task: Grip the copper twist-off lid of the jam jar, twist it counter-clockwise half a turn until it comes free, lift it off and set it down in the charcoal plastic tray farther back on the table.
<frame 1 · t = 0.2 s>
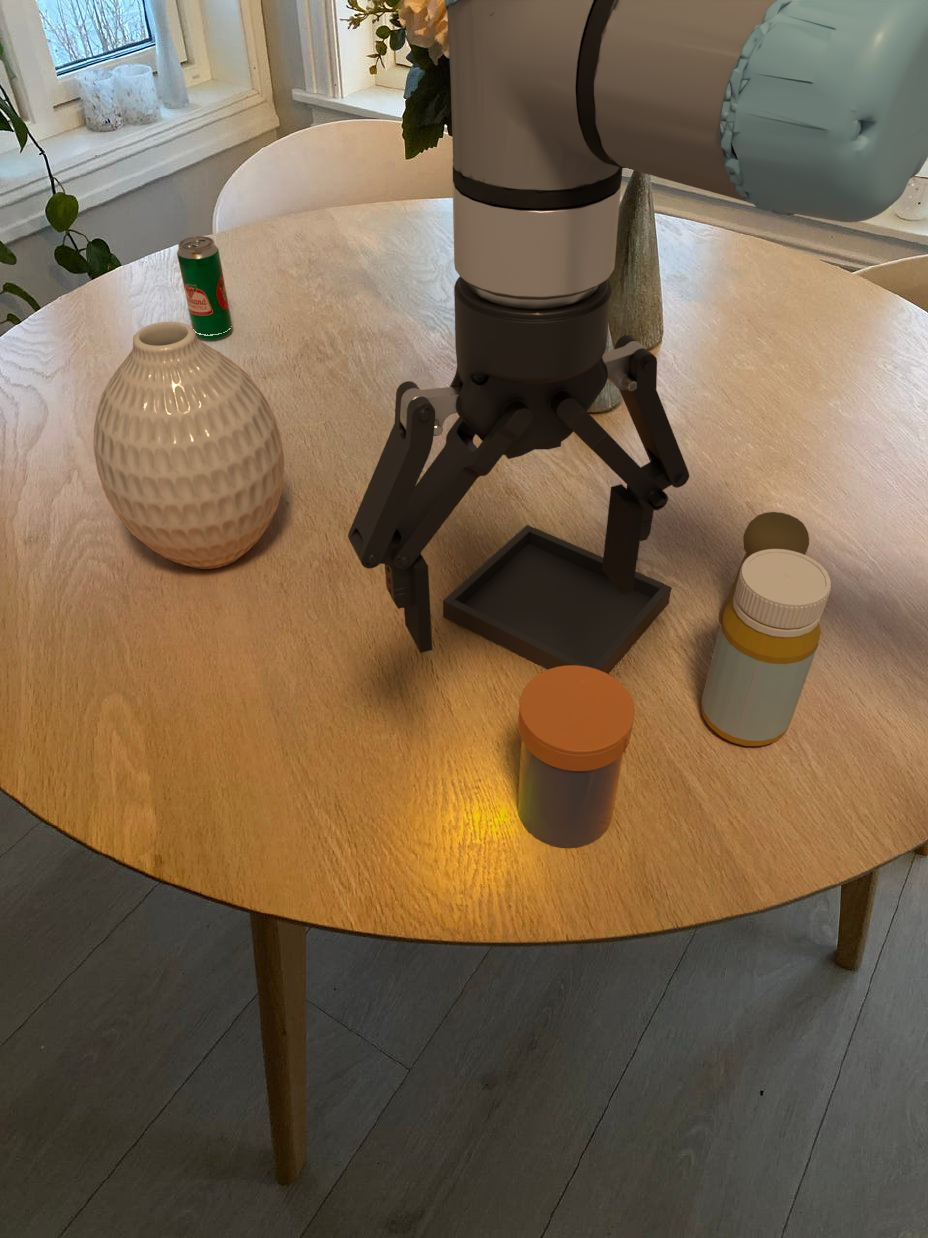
hand: (520, 608, 60), 18 cm above the table, tool pointing down, fingers open, 13 cm apart
lid: (576, 710, 63), point 11 cm above the table, screwed on, not yet turned
vase: (213, 548, 94), on the table
tray: (556, 610, 87), on the table
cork: (752, 623, 86), on the table
soda can: (214, 335, 126), on the table
bottle: (742, 719, 77), on the table
jar: (564, 808, 71), on the table
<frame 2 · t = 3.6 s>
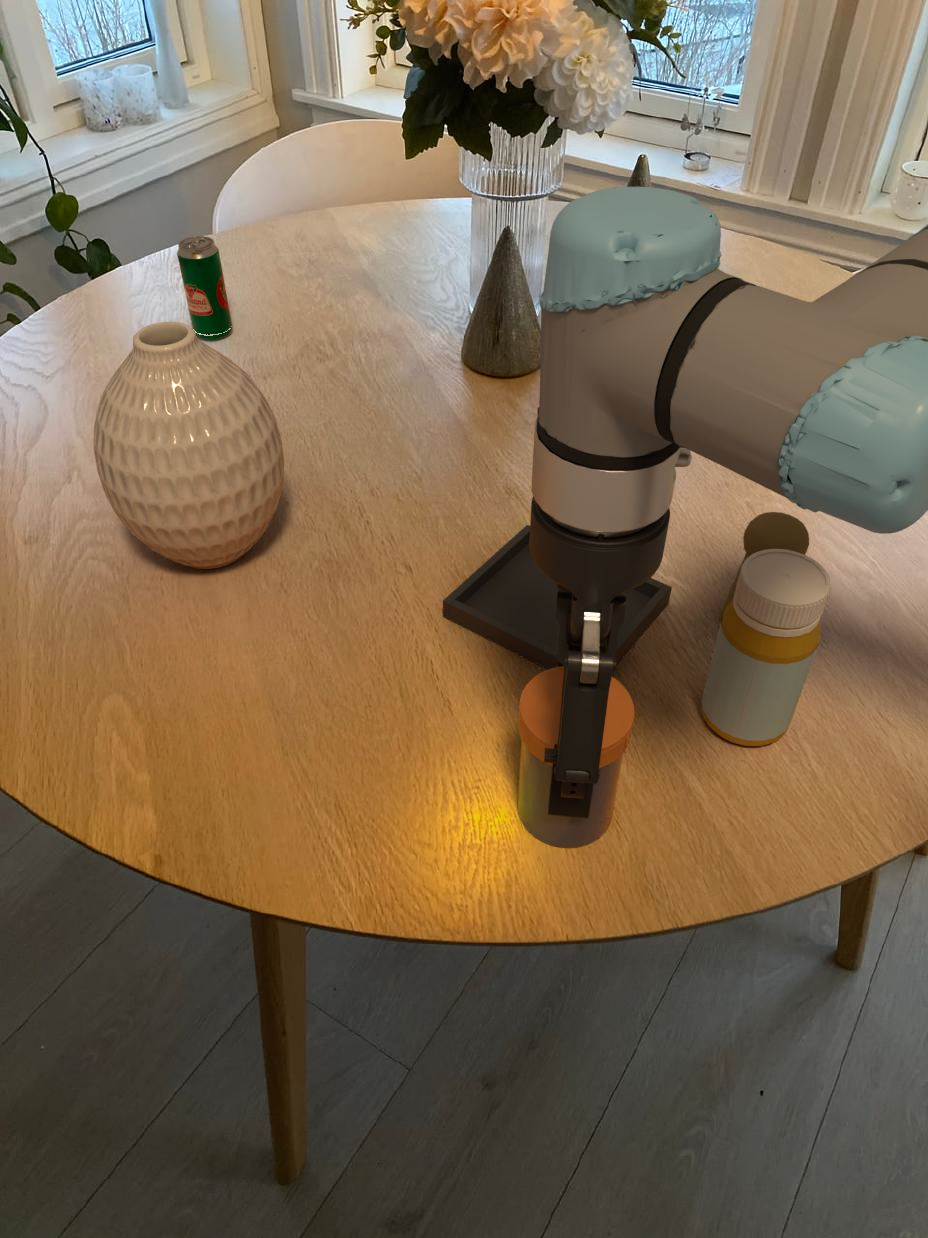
hand: (570, 763, 67), 5 cm above the table, tool pointing down, fingers closed on lid, 7 cm apart
lid: (576, 710, 63), point 11 cm above the table, screwed on, not yet turned, touching gripper
everything else where it was.
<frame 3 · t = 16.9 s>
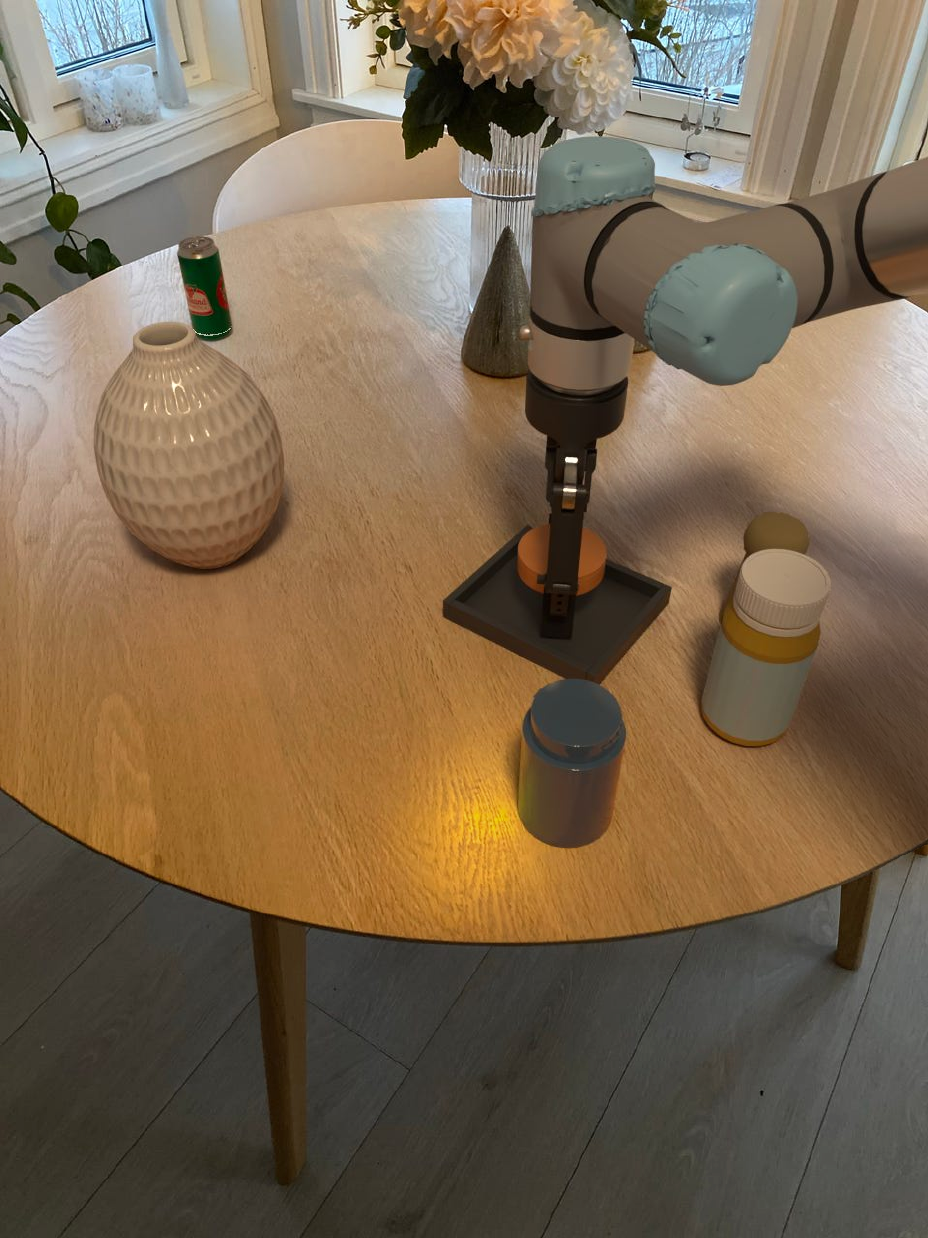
hand: (558, 602, 86), 1 cm above the table, tool pointing down, fingers closed on lid, 7 cm apart
lid: (561, 553, 82), point 7 cm above the table, off its thread, touching gripper
everything else where it was.
when the fingers open (2 cm above the table, at t = 25.2 s): lid drops 6 cm, resting on tray.
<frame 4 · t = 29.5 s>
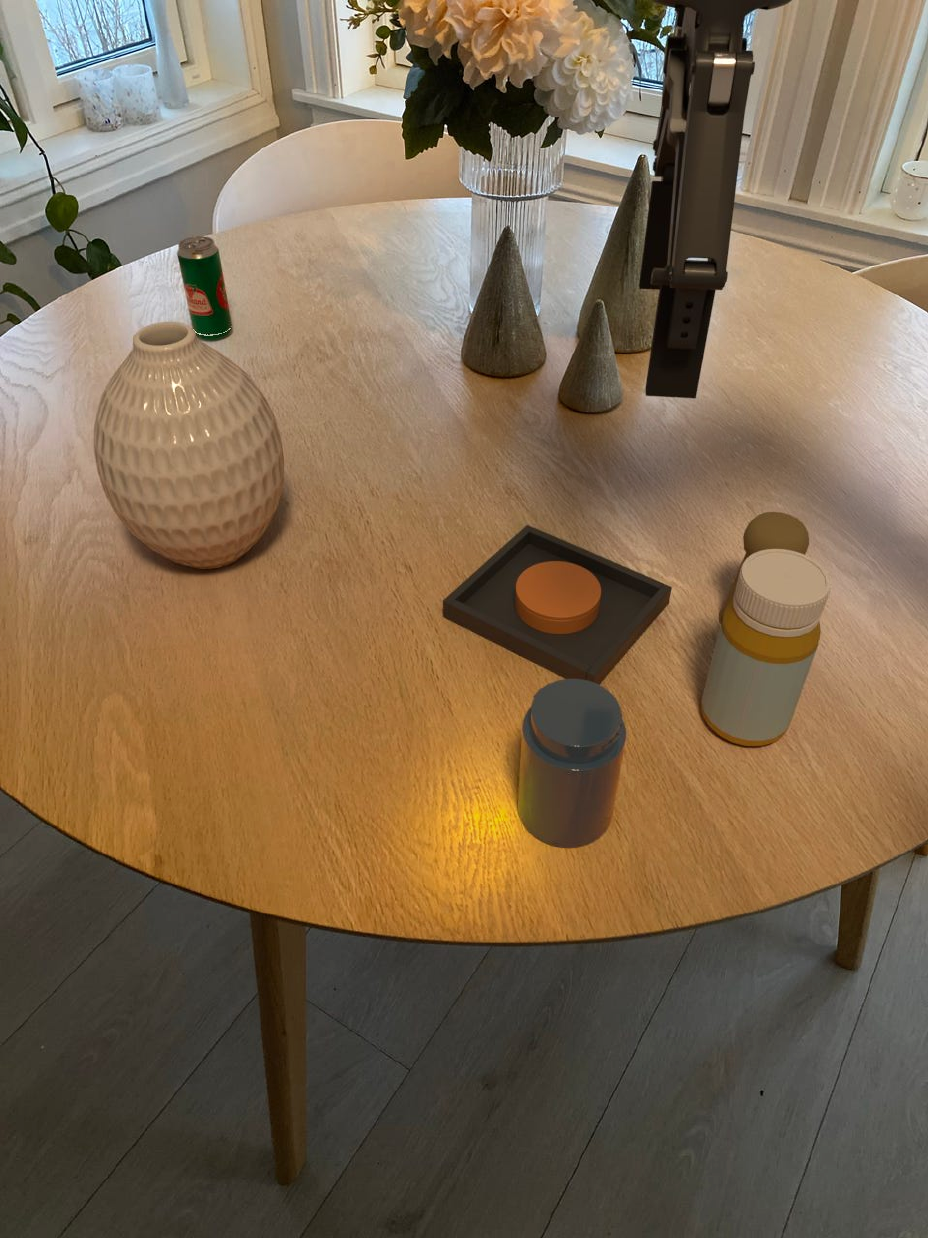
hand: (664, 336, 58), 32 cm above the table, tool pointing down, fingers open, 13 cm apart
lid: (558, 591, 85), point 2 cm above the table, off its thread, touching tray
everything else where it was.
at the end: lid inside the target area in the tray (0.0 cm from its centre), point 2.2 cm above the tray's base; the gripper is holding nothing; jar moved 0.0 cm from its start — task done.
